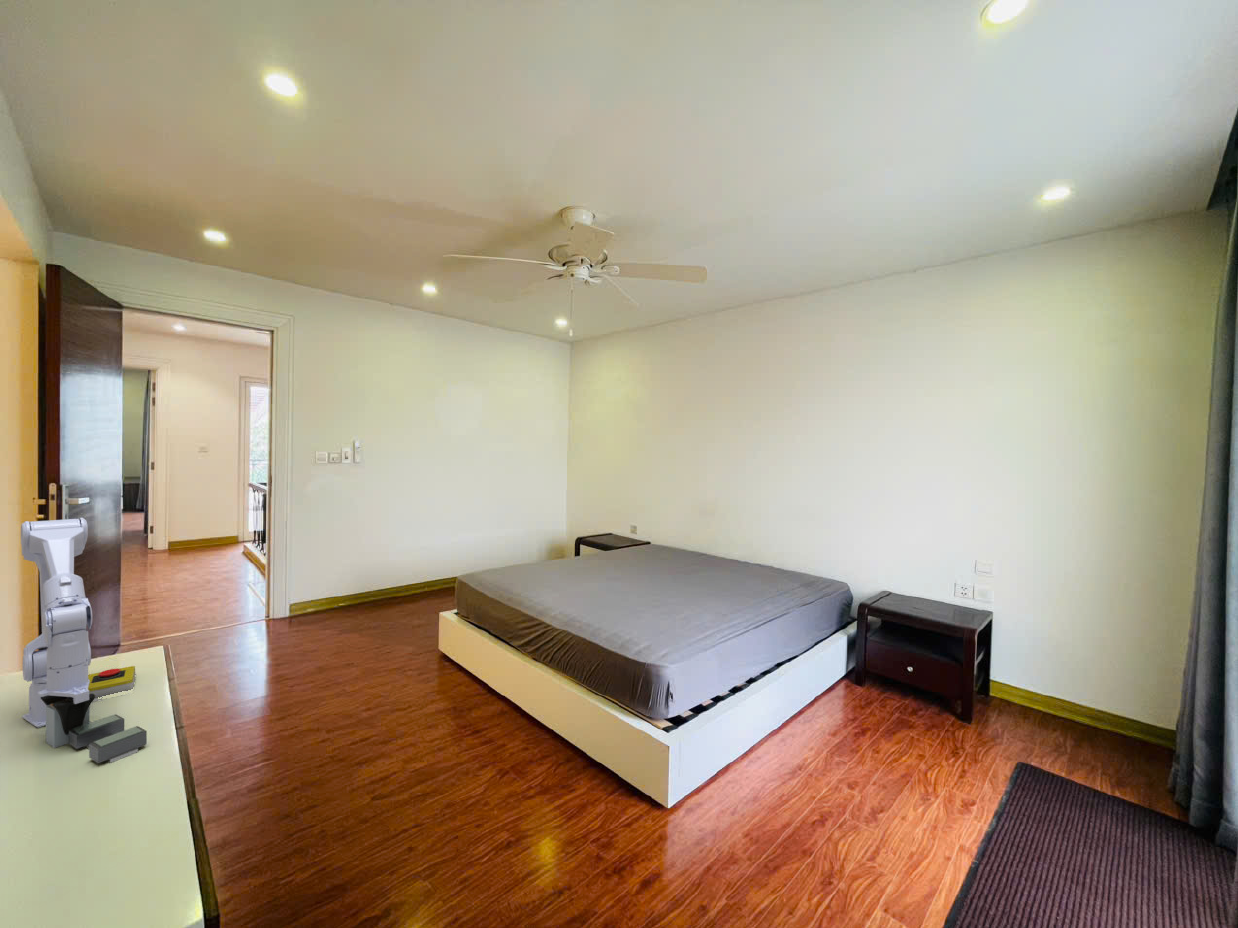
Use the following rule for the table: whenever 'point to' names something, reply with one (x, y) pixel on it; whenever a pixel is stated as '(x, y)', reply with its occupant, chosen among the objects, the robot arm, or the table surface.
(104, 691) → the emergency button
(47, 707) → the block
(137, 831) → the table surface
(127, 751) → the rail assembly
